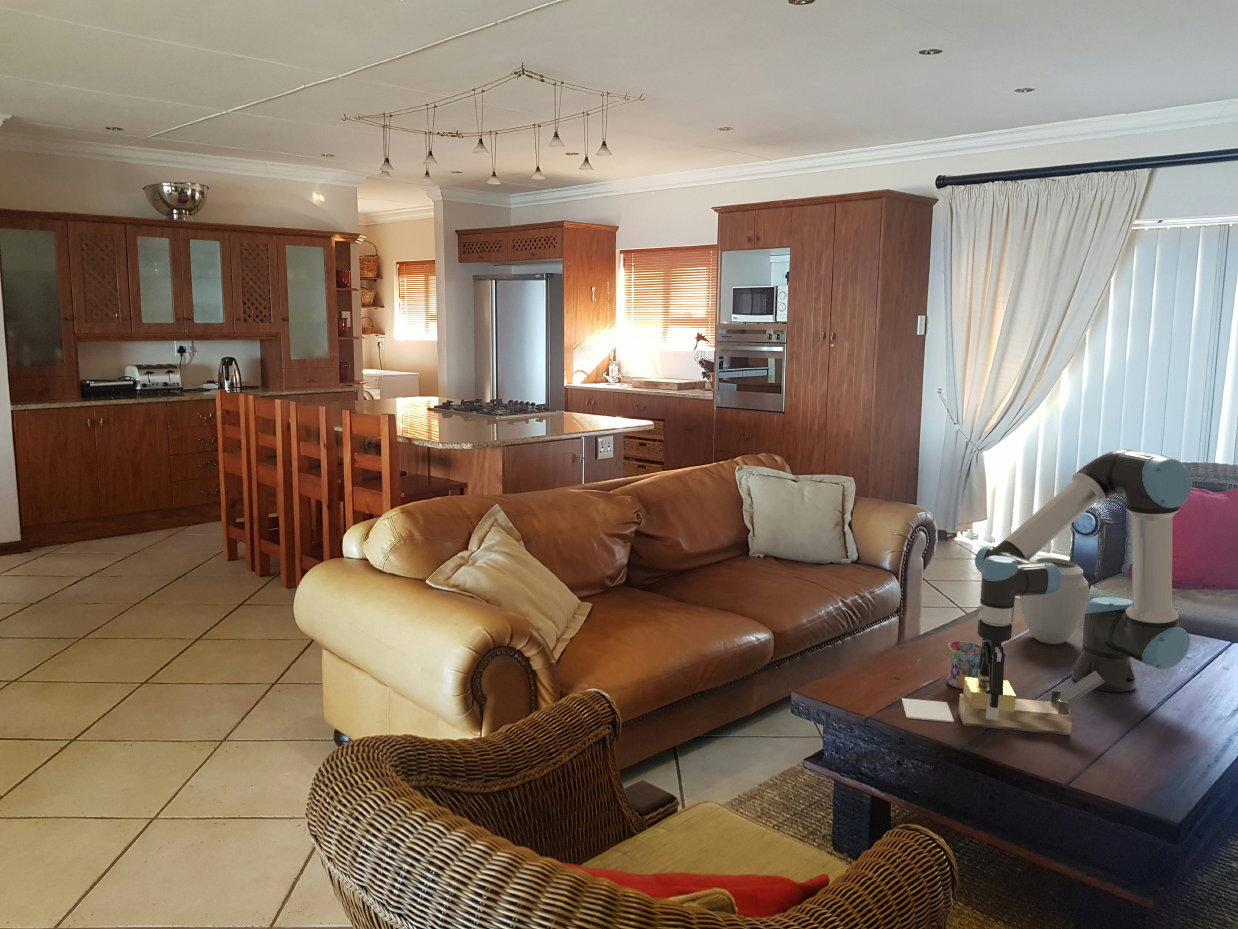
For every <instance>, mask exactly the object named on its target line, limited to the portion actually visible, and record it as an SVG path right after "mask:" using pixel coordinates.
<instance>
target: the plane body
mask: <svg viewBox="0 0 1238 929" xmlns="http://www.w3.org/2000/svg"><path fill="white" fill-rule="evenodd" d="M1060 693H1062V690H1054V689H1052V690H1051V697H1050V701H1048V700H1047V701H1046V700H1038V699H1037V700H1035V699H1025V698H1016V702H1015V712H1012V711H1001V710H999V716H998V720H993V719H986V718H985V717H986V709H979V708H970V706H969V704H968V702H967V700H966V697H965V695H964V693H959V699H958V700H959V701H958V710H957V711H958V712H957V713H958V715H959V718H960V721H961V723H962V725H963V726H967V727H968V726H969V727H978V728H979V727H981V728H989V729H991V728H992V729H1001V730H1011V731H1020V732H1021V731H1023V732H1031V733H1042V734H1044V733H1045V734H1055V735H1066V736H1071V732H1072V725H1073V714H1072V712H1071V711H1070V709H1069V706H1070V705H1069V702H1063V701H1059V705H1058V703H1057V702H1056V700H1055V699H1054V696H1056V695H1059V694H1060Z"/></svg>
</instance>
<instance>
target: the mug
mask: <svg viewBox="0 0 1238 929" xmlns="http://www.w3.org/2000/svg"><path fill="white" fill-rule="evenodd" d="M981 646H982V645H981V644H978V643H975V642H970V641H966V640H965V641H963V640H962V641H961V640H960V641H959V640H958V641H957V640H955V641H951V642H948V643H947V648H948V651H949V655H950V661H951V662H950V663H951V664H950V666H951V667H950V671H949V674H948V676H947V677H946V682H947V684H949V685H950V686H952V687H955V688H957V689H961V690H964V680H965V677H968V678H980V676H979V669H978V666H979V660H980V653H981Z"/></svg>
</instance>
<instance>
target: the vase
mask: <svg viewBox="0 0 1238 929" xmlns="http://www.w3.org/2000/svg"><path fill="white" fill-rule="evenodd" d="M1032 562H1035V563H1040V562H1044V563H1053V564H1055V565H1056V566H1057V567H1058V568H1059V570H1060V572H1061V575H1062V582H1061V587H1060V588H1059V590H1058V591H1056V592H1055V593H1050V594H1045V595H1029V596H1018V598H1019V607H1020V610H1021V614H1022V617H1023V621H1024V623H1025V625H1026V628H1027V629H1028V631H1029V633H1030V634H1031V636H1032V637H1033V638H1034V639H1035V640H1037V641H1038V642H1041V643H1043V644H1047V645H1048V644H1049V645H1060V644H1063V643H1065V642H1066V641H1068V640H1069V639H1070V638H1071V637H1072V636H1073V635H1074V634H1075V632H1076V631H1077V630H1078V628H1079V626H1080V624H1081V622H1082V620H1083V619H1084V618H1085V612H1086V608H1087V603H1088V601H1089V600H1090V597H1091V593H1090V587H1089V582H1088V580H1087V579H1086V578H1085V577H1084V569H1083V568H1082V567H1080V566H1079V565H1078V564H1077V563H1075V562H1073V561H1070V560H1067V559H1062V558H1054V557H1053V558H1052V557H1042V558H1041V557H1040V558H1038V559H1036V560H1034V561H1032Z"/></svg>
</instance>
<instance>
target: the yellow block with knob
mask: <svg viewBox="0 0 1238 929" xmlns="http://www.w3.org/2000/svg"><path fill="white" fill-rule="evenodd" d="M986 691H989V679H980V677H979V678H968V677H965V680H964V689H963V693H962V694H964V695H965V697H966V700H967V702H968V704H969V706H970V708H979V709H986V706H987V694H986ZM1016 699H1017V695H1016V693H1015V691H1014V689H1013V687H1012V685H1011V684H1010V682H1009V680H1003V695H1000V705H999V710H1001V711H1012V712H1015V702H1016Z"/></svg>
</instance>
